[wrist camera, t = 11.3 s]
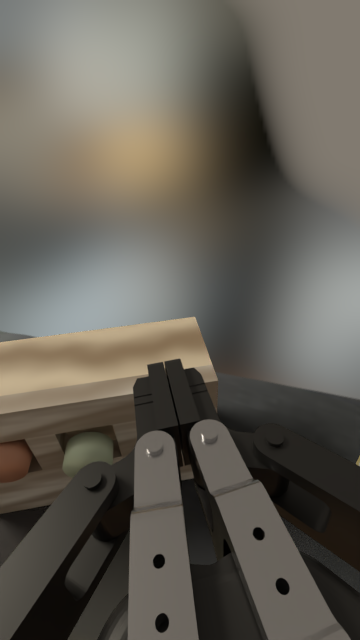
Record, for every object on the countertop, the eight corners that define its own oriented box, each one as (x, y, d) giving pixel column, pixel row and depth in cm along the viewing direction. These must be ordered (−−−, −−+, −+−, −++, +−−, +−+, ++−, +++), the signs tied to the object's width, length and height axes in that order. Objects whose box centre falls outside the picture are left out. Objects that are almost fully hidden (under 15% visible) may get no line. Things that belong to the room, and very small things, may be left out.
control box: (215, 474, 33) (217, 380, 25) (-7, 515, 31) (-86, 427, 23) (197, 404, 42) (194, 316, 33) (21, 433, 39) (-30, 346, 31)
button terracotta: (34, 477, 27) (18, 451, 25) (-13, 486, 27) (-35, 460, 24) (40, 457, 29) (25, 431, 26) (-5, 465, 28) (-25, 439, 26)
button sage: (116, 475, 27) (107, 448, 25) (69, 483, 27) (56, 457, 24) (117, 454, 29) (109, 428, 26) (72, 462, 28) (60, 436, 26)
